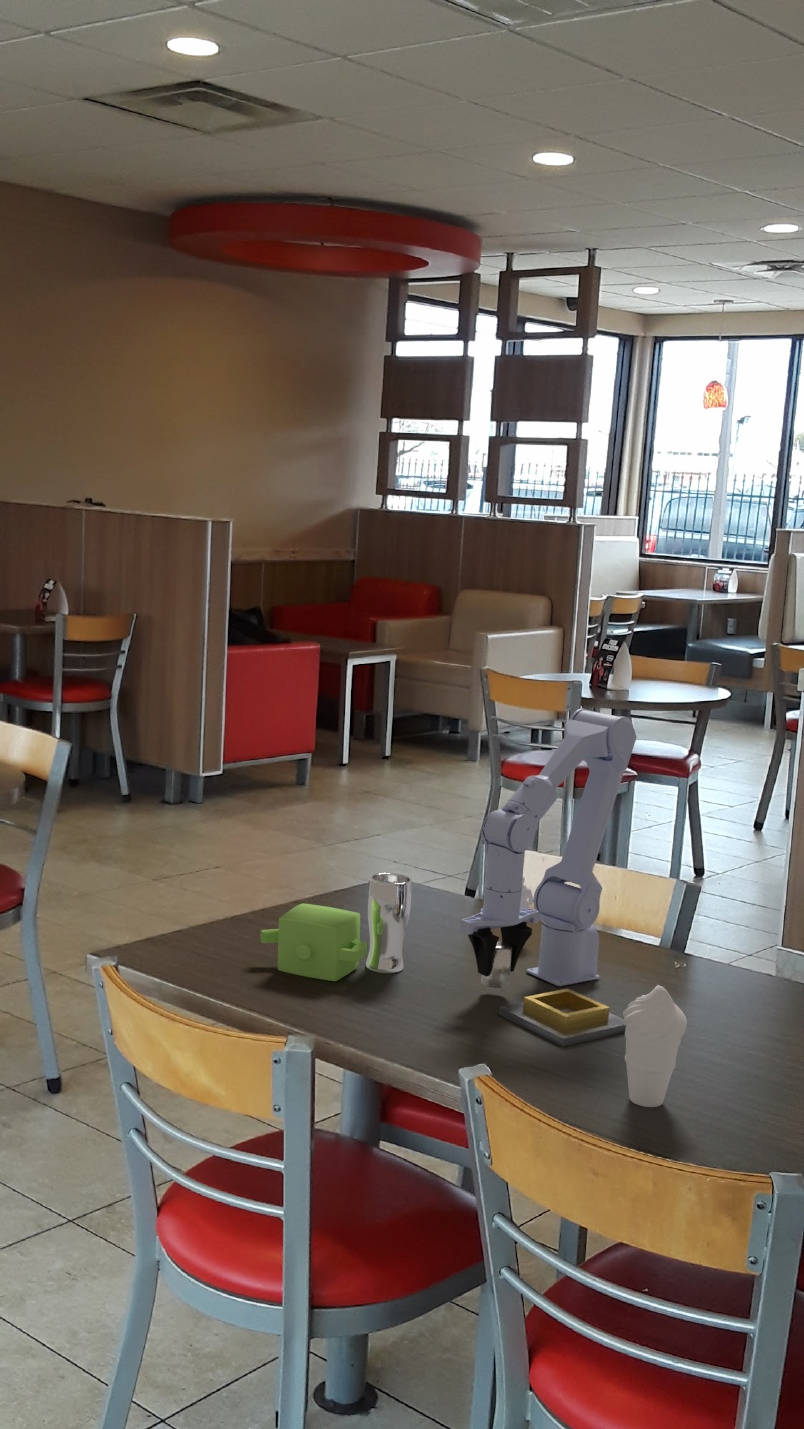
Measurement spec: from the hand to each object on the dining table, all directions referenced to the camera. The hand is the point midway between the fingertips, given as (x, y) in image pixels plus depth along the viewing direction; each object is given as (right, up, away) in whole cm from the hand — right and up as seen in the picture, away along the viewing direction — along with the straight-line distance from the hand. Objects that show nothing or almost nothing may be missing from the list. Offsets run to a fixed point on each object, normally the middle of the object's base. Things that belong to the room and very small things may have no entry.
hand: (496, 972), depth 222 cm
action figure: (+5, 0, +28) cm, 29 cm away
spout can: (0, -2, 0) cm, 2 cm away
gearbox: (-29, -1, +6) cm, 30 cm away
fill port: (+10, -6, -9) cm, 15 cm away
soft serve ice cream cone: (+17, -11, -36) cm, 41 cm away
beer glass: (-18, -1, +10) cm, 20 cm away
